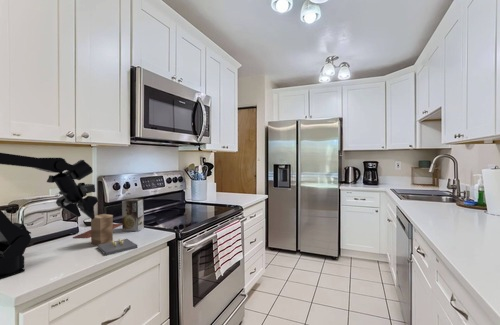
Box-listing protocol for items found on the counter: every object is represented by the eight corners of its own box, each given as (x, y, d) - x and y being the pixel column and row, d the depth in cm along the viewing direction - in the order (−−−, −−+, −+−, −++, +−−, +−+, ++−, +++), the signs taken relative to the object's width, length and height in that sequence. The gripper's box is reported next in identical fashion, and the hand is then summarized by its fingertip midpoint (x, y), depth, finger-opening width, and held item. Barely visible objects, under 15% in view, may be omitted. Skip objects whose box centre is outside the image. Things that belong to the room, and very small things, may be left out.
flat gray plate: (106, 255, 98) (106, 247, 98) (97, 247, 107) (97, 240, 107) (137, 247, 107) (137, 240, 107) (126, 241, 115) (126, 234, 115)
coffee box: (144, 228, 137) (144, 198, 137) (138, 231, 131) (137, 200, 131) (128, 227, 138) (128, 198, 138) (121, 230, 132) (121, 200, 132)
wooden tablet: (107, 225, 146) (107, 222, 146) (123, 225, 145) (123, 222, 145) (68, 239, 120) (68, 235, 120) (87, 240, 118) (87, 236, 118)
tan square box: (100, 245, 109) (100, 218, 109) (90, 243, 112) (90, 216, 111) (113, 241, 115) (113, 215, 115) (103, 239, 117) (103, 213, 117)
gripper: (100, 176, 102) (116, 207, 109) (72, 175, 110) (89, 204, 116) (75, 192, 93) (94, 224, 100) (46, 189, 101) (66, 219, 107)
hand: (86, 217), depth 106 cm, fingers open, 9 cm apart
